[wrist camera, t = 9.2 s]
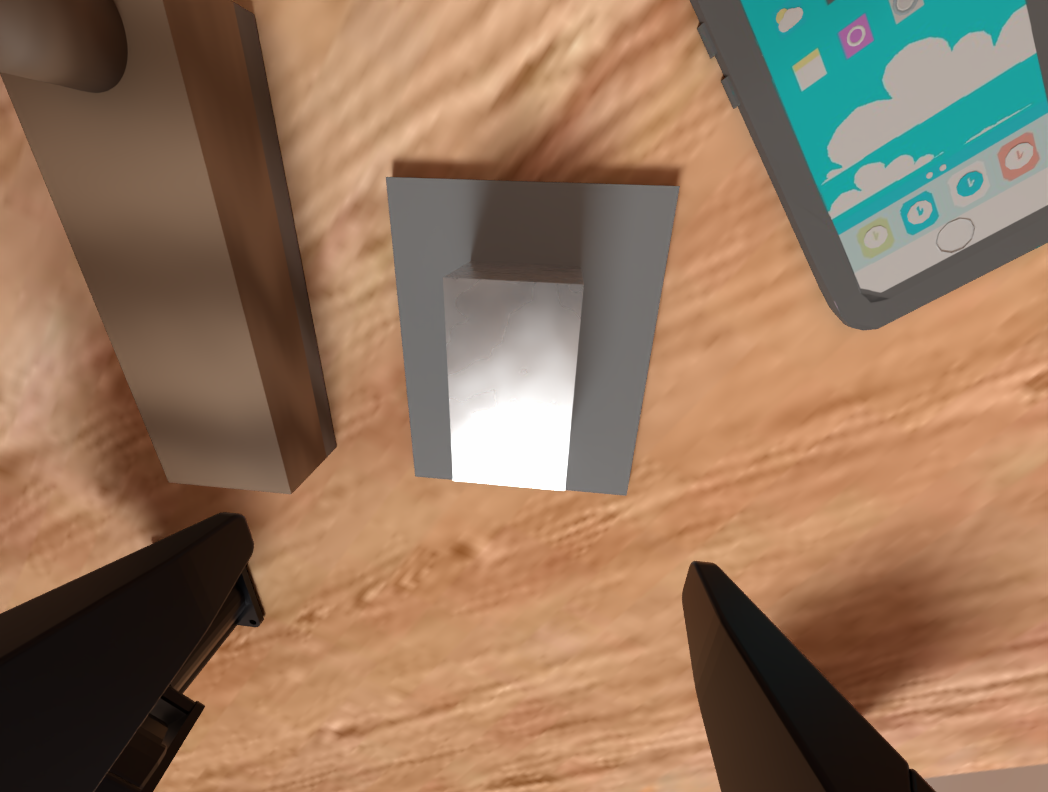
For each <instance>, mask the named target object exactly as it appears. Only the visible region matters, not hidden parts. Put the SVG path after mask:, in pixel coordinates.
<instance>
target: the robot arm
mask: <svg viewBox="0 0 1048 792" xmlns="http://www.w3.org/2000/svg"><path fill="white" fill-rule="evenodd" d="M253 549H254V542H253V539H252V536H251V533H250V530H249V527H248V524H247V521H246V518H245V517H244V516H243V515H241V514H236V513H226V512H224V513H219V514H216V515H214V516H212V517H210V518H208V519H206V520H203V521H201V522H199V523H197V524H195V525H192V526H190V527H188V528H186V529H184V530H182V531H179V532H177V533H175V534H173V535H171V536H169V537H166V538H164V539H162V540H160V541H158V542H155V543H153V544H151V545H149V546H147V547H145V548H142V549H140V550H138V551H136V552H134V553H132V554H129V555H127V556H125V557H123V558H121V559H119V560H116V561H114V562H112V563H110V564H108V565H105V566H103V567H101V568H99V569H97V570H95V571H92V572H90V573H88V574H86V575H84V576H82V577H79V578H77V579H75V580H73V581H71V582H69V583H66V584H64V585H62V586H60V587H58V588H55V589H53V590H51V591H49V592H47V593H45V594H42V595H40V596H38V597H36V598H34V599H32V600H29V601H27V602H25V603H23V604H21V605H18V606H16V607H14V608H12V609H10V610H8V611H5V612H3V613H1V614H0V792H153V791H154V789H155V787H156V786H157V784H158V783H159V781H160V780H161V778H162V776H163V775H164V773H165V771H166V770H167V768H168V766H169V765H170V763H171V762H172V760H173V758H174V757H175V755H176V753H177V752H178V750H179V748H180V747H181V745H182V744H183V742H184V740H185V739H186V737H187V735H188V734H189V732H190V730H191V729H192V727H193V726H194V724H195V722H196V721H197V719H198V717H199V716H200V714H201V712H202V711H203V709H204V707H205V705H203V704H202V703H200V702H198V701H196V702H194V701H193V700H191V699H190V698H188V697H186V696H185V695H183V693H184V692H185V690H186V689H187V688H188V686H189V685H190V684H191V683H192V681H193V680H194V679H195V678H196V676H197V675H198V674H199V673H200V671H201V670H202V669H203V667H204V666H205V665H206V664H207V662H208V661H209V660H210V659H211V657H212V656H213V655H214V654H215V652H216V651H217V650H218V649H219V647H220V646H221V645H222V643H223V642H224V641H225V640H226V638H227V637H228V636H229V635H230V633H231V632H232V631H233V630H234V628H235V627H236V626H237V625H242V626H250V627H258V626H259V625H260V624H261V623H262V621H263V620H264V618H263V615H262V612H261V609H260V606H259V604H258V601H257V598H256V595H255V592H254V589H253V587H252V584H251V581H250V578H249V575H248V572H247V570H246V567H245V566H246V564H247V562H248V561H249V559H250V557H251V555H252V553H253ZM682 604H683V611H684V617H685V624H686V630H687V637H688V644H689V650H690V657H691V663H692V670H693V677H694V682H695V688H696V693H697V698H698V702H699V706H700V710H701V714H702V718H703V722H704V726H705V730H706V734H707V738H708V741H709V745H710V749H711V753H712V757H713V761H714V765H715V769H716V773H717V777H718V780H719V784H720V788H721V792H936V791H935V790H934V789H933V788H932V787H931V786H930V785H929V784H928V783H927V782H926V781H925V780H924V779H923V778H922V777H921V776H920V775H919V774H918V773H917V772H916V771H915V770H914V769H909V765H908V763H907V762H906V760H905V759H904V758H903V757H902V756H901V755H900V754H899V753H898V752H897V751H896V750H895V749H894V748H893V747H892V746H891V745H890V744H889V743H888V742H887V741H886V740H885V739H884V738H883V737H882V736H881V735H880V734H879V732H878V731H877V730H876V729H875V728H874V727H873V726H872V725H871V724H870V723H869V722H868V721H867V720H866V719H865V718H864V717H863V716H862V715H861V714H860V713H859V712H858V711H857V710H856V709H855V708H854V707H853V706H852V704H851V703H850V702H849V701H848V700H847V699H846V698H845V697H844V696H843V695H842V694H841V693H840V692H839V691H838V690H837V689H836V688H835V687H834V686H833V685H832V684H831V683H830V682H829V681H828V680H827V679H826V678H825V676H824V675H823V674H822V673H821V672H820V671H819V670H818V669H817V668H816V667H815V666H814V665H813V664H812V663H811V662H810V661H809V660H808V659H807V658H806V657H805V656H804V655H803V654H802V653H801V652H800V651H799V650H798V648H797V647H796V646H795V645H794V644H793V643H792V642H791V641H790V640H789V639H788V638H787V637H786V636H785V635H784V634H783V633H782V632H781V631H780V630H779V629H778V628H777V627H776V626H775V625H774V624H773V623H772V622H771V620H770V619H769V618H768V617H767V616H766V615H765V614H764V613H763V612H762V611H761V610H760V609H759V608H758V607H757V606H756V605H755V604H754V603H753V602H752V601H751V600H750V599H749V598H748V597H747V596H746V595H745V594H744V592H743V591H742V590H741V589H740V588H739V587H738V586H737V585H736V584H735V583H734V582H733V581H732V580H731V579H730V578H729V577H728V576H727V575H726V574H725V573H724V572H723V571H722V570H721V569H720V568H719V567H718V566H717V565H716V564H714V563H710V562H700V561H693V562H692V563H691V564H690V567H689V570H688V574H687V577H686V581H685V584H684V588H683V592H682Z"/></svg>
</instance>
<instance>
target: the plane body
mask: <svg viewBox="0 0 1048 792" xmlns="http://www.w3.org/2000/svg"><path fill="white" fill-rule="evenodd" d="M0 75H1V77H2V79H3V82H4V84H5V87H6V89H7V91H8V94H9V96H10V99H11V101H12V104H13V106H14V108H15V111H16V113H17V116H18V118H19V121H20V123H21V125H22V128H23V130H24V133H25V135H26V138H27V140H28V142H29V145H30V147H31V150H32V152H33V155H34V157H35V159H36V162H37V164H38V167H39V169H40V171H41V174H42V176H43V179H44V181H45V184H46V186H47V188H48V191H49V193H50V196H51V198H52V201H53V203H54V205H55V208H56V210H57V213H58V215H59V218H60V220H61V222H62V225H63V227H64V230H65V232H66V235H67V237H68V239H69V242H70V244H71V247H72V249H73V252H74V254H75V256H76V259H77V261H78V264H79V266H80V268H81V271H82V273H83V276H84V278H85V281H86V283H87V285H88V288H89V290H90V293H91V295H92V298H93V300H94V302H95V305H96V307H97V310H98V312H99V315H100V317H101V319H102V322H103V324H104V327H105V329H106V332H107V334H108V336H109V339H110V341H111V344H112V346H113V348H114V351H115V353H116V356H117V358H118V361H119V363H120V365H121V368H122V370H123V373H124V375H125V378H126V380H127V382H128V385H129V387H130V390H131V392H132V395H133V397H134V399H135V402H136V404H137V407H138V409H139V412H140V414H141V416H142V419H143V421H144V424H145V426H146V429H147V431H148V433H149V436H150V438H151V441H152V443H153V445H154V448H155V450H156V453H157V455H158V458H159V460H160V462H161V465H162V467H163V470H164V472H165V475H166V477H167V479H168V482H170V483H180V484H190V485H201V486H211V487H221V488H232V489H242V490H252V491H263V492H273V493H283V494H292V493H293V492H294V491H295V490H296V489H297V488H298V487H299V486H300V485H301V484H302V483H303V482H304V481H305V479H306V478H307V477H308V476H309V475H310V474H311V473H312V472H313V471H314V470H315V469H316V468H317V467H318V466H319V465H320V464H321V463H322V462H323V461H324V460H325V459H326V458H327V457H328V455H329V454H330V453H331V452H332V451H333V450H334V449H335V448H336V442H335V436H334V431H333V426H332V421H331V415H330V410H329V405H328V400H327V394H326V389H325V384H324V379H323V374H322V368H321V363H320V358H319V353H318V347H317V342H316V337H315V332H314V326H313V321H312V316H311V311H310V305H309V300H308V295H307V290H306V284H305V279H304V274H303V269H302V263H301V258H300V253H299V248H298V242H297V237H296V232H295V227H294V221H293V216H292V211H291V206H290V200H289V195H288V190H287V185H286V179H285V174H284V169H283V164H282V158H281V153H280V148H279V143H278V137H277V132H276V127H275V122H274V116H273V111H272V106H271V101H270V95H269V90H268V85H267V80H266V74H265V69H264V64H263V59H262V54H261V48H260V43H259V38H258V33H257V27H256V22H255V17H254V14H253V13H251V12H249V11H248V10H246V9H244V8H242V7H241V6H239V5H237V4H236V3H234V2H232V1H231V0H0Z"/></svg>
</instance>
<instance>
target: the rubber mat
mask: <svg viewBox="0 0 1048 792" xmlns="http://www.w3.org/2000/svg"><path fill="white" fill-rule="evenodd" d="M386 183H387V193H388V203H389V213H390V224H391V234H392V244H393V254H394V264H395V274H396V285H397V295H398V305H399V315H400V325H401V336H402V346H403V356H404V366H405V376H406V386H407V397H408V407H409V417H410V427H411V437H412V447H413V458H414V468H415V476H417V477H428V478H439V479H450V480H453V468H452V449H451V429H450V409H449V389H448V369H447V349H446V329H445V309H444V289H443V277H444V276H446V275H448V274H449V273H451V272H453V271H455V270H456V269H458V268H460V267H461V266H463V265H465V264H467V263H468V262H470V261H476V262H497V263H518V264H538V265H559V266H580V267H581V268H582V275H583V282H584V289H583V300H582V311H581V322H580V333H579V343H578V354H577V365H576V376H575V387H574V397H573V408H572V419H571V430H570V441H569V451H568V462H567V473H566V484H565V490H571V491H582V492H593V493H604V494H615V495H627V489H628V483H629V477H630V472H631V466H632V460H633V454H634V448H635V443H636V437H637V431H638V425H639V419H640V414H641V408H642V402H643V396H644V390H645V384H646V379H647V373H648V367H649V361H650V355H651V350H652V344H653V338H654V332H655V326H656V321H657V315H658V309H659V303H660V297H661V291H662V286H663V280H664V274H665V268H666V262H667V257H668V251H669V245H670V239H671V233H672V228H673V222H674V216H675V210H676V204H677V198H678V193H679V187H680V186H655V185H623V184H592V183H560V182H528V181H496V180H465V179H433V178H401V177H386Z"/></svg>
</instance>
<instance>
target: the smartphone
mask: <svg viewBox="0 0 1048 792" xmlns="http://www.w3.org/2000/svg"><path fill="white" fill-rule="evenodd" d="M690 2H691V4H692V6H693V8H694V10H695V13H696V15H697V17H698V19H699V22H700V24H701V25H700V26H699V27H698V28H697V30H698V32H699V34H700V36H701V39H702V41H703V43H704V45H705V47H706V50H707V52H708V54H709V56H710V58H712V57H713V56H715V57H716V59H717V62H718V64H719V66H720V68H721V70H722V73H723V75H724V77H725V79H723V80H722V81H721V83H722V85H723V87H724V89H725V91H726V94H727V96H728V98H729V100H730V102H731V105H732V107H733V109H734V108H736V107H737V106H738V108H739V110H740V113H741V115H742V117H743V119H744V121H745V124H746V126H747V128H748V130H749V133H750V135H751V137H752V139H753V141H754V144H755V146H756V148H757V150H758V152H759V155H760V157H761V159H762V161H763V164H764V166H765V168H766V170H767V172H768V175H769V177H770V179H771V181H772V184H773V186H774V188H775V190H776V192H777V195H778V197H779V199H780V201H781V204H782V206H783V208H784V210H785V212H786V215H787V217H788V219H789V221H790V223H791V226H792V228H793V230H794V232H795V235H796V237H797V239H798V241H799V243H800V246H801V248H802V250H803V252H804V255H805V257H806V259H807V261H808V263H809V266H810V268H811V270H812V272H813V275H814V277H815V279H816V281H817V283H818V286H819V288H820V290H821V292H822V294H823V296H824V298H825V299H826V301H827V303H828V305H829V307H830V308H831V310H832V311H833V312H834V313H835V315H836V316H837V317H838V318H839V319H840V320H841V321H842V322H843V323H844V324H845V325H847V326H849V327H851V328H855V329H860V330H872V329H878V328H880V327H882V326H884V325H886V324H888V323H890V322H892V321H894V320H896V319H898V318H900V317H902V316H904V315H906V314H908V313H910V312H912V311H914V310H916V309H918V308H920V307H921V306H923V305H925V304H927V303H929V302H931V301H933V300H935V299H937V298H939V297H941V296H943V295H945V294H947V293H949V292H951V291H953V290H955V289H957V288H959V287H961V286H963V285H965V284H967V283H969V282H971V281H973V280H975V279H977V278H979V277H981V276H983V275H985V274H986V273H988V272H990V271H992V270H994V269H996V268H998V267H1000V266H1002V265H1004V264H1006V263H1008V262H1010V261H1012V260H1014V259H1016V258H1018V257H1020V256H1022V255H1024V254H1026V253H1028V252H1030V251H1032V250H1034V249H1036V248H1038V247H1040V246H1042V245H1044V244H1046V243H1048V0H690Z"/></svg>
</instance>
